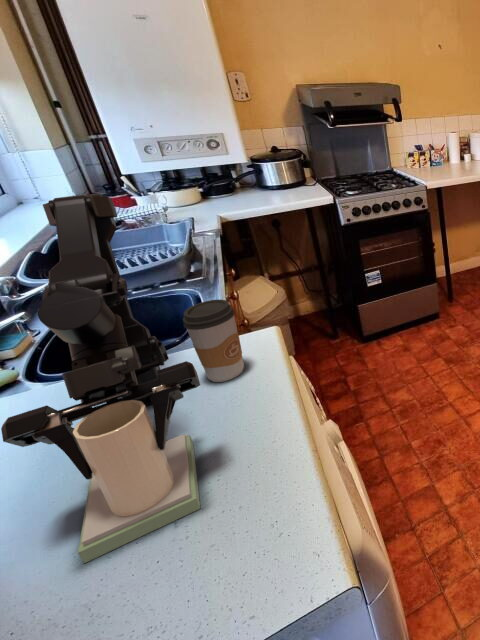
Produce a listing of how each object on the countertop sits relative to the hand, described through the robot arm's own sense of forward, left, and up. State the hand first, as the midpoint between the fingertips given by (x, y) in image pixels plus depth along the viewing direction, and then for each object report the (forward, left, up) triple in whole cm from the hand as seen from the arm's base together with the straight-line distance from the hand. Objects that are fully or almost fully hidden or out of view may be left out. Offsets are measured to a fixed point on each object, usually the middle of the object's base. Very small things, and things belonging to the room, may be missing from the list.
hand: (127, 463), depth 56 cm
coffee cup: (-33, -5, -10) cm, 34 cm away
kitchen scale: (-4, -3, -9) cm, 11 cm away
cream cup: (-1, -1, -7) cm, 7 cm away
